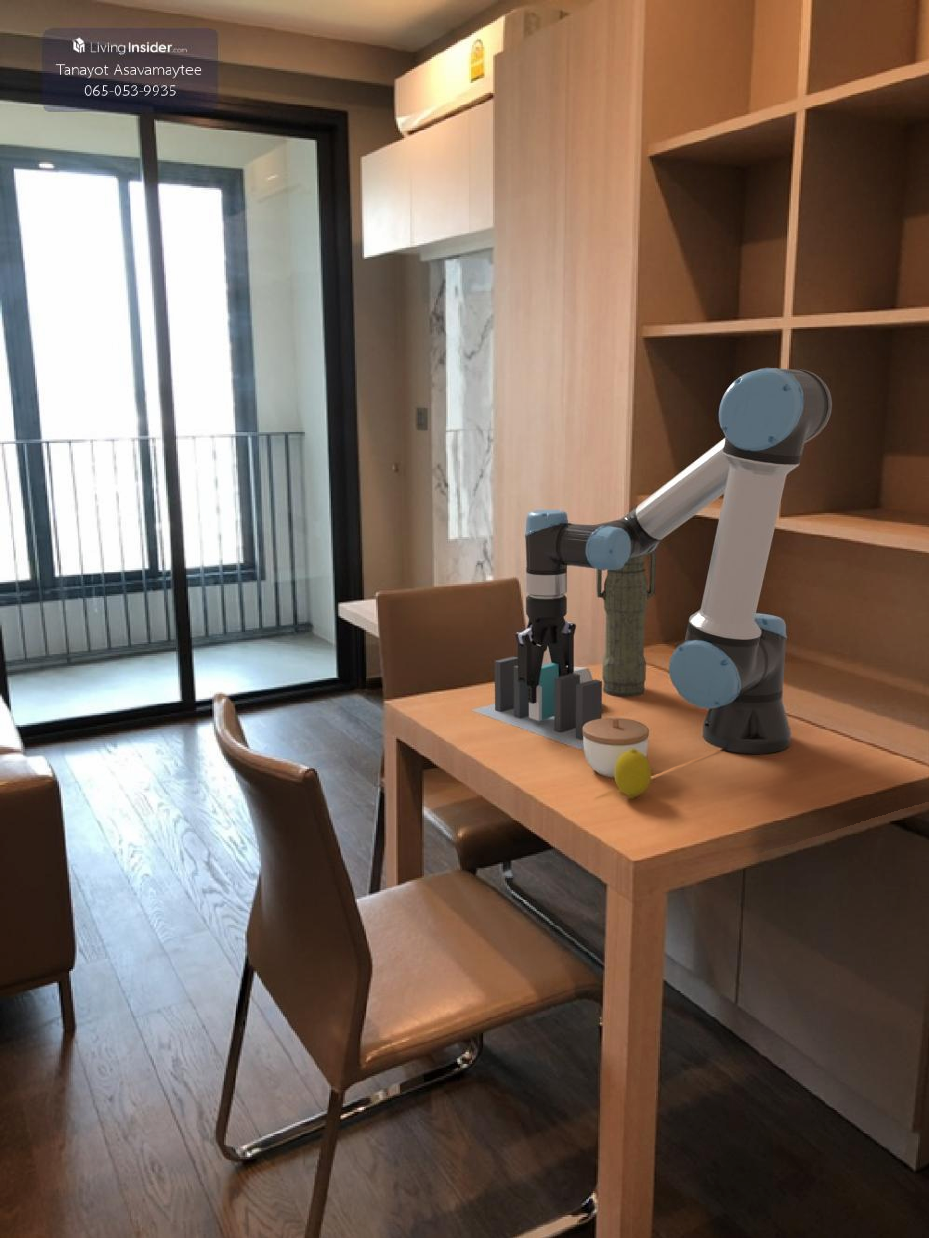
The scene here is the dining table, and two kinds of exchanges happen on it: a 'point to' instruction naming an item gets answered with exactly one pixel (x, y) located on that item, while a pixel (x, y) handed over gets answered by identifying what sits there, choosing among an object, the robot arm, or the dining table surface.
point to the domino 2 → (520, 697)
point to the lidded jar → (612, 742)
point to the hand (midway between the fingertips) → (546, 715)
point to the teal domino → (548, 688)
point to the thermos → (625, 625)
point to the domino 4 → (588, 704)
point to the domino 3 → (565, 702)
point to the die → (583, 674)
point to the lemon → (632, 773)
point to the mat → (533, 725)
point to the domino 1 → (504, 683)
